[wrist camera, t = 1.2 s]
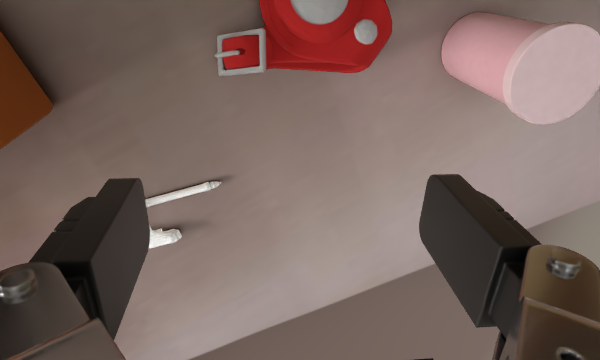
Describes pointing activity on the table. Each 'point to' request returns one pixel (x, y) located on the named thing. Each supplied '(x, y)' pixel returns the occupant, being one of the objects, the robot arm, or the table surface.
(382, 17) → the tracker holder
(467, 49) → the lidded canister
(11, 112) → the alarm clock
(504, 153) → the table surface
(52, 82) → the table surface
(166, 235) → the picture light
